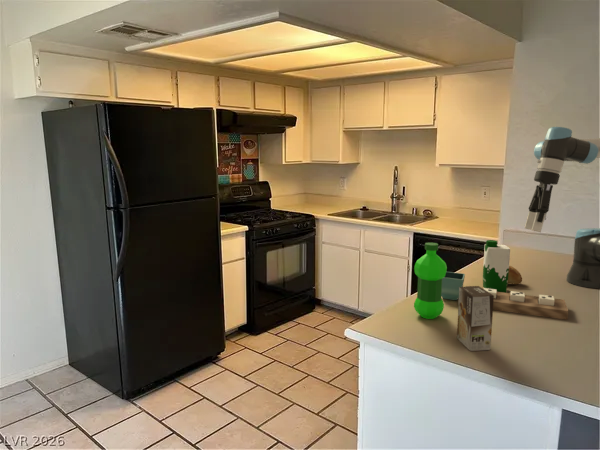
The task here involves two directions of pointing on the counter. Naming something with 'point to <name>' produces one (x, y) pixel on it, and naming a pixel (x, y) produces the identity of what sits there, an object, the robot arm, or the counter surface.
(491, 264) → the milk carton
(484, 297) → the coffee box
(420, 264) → the plastic bottle
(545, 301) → the button two
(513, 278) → the bread roll
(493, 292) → the button one
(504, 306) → the button panel
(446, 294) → the flower pot
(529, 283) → the counter surface
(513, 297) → the button three
